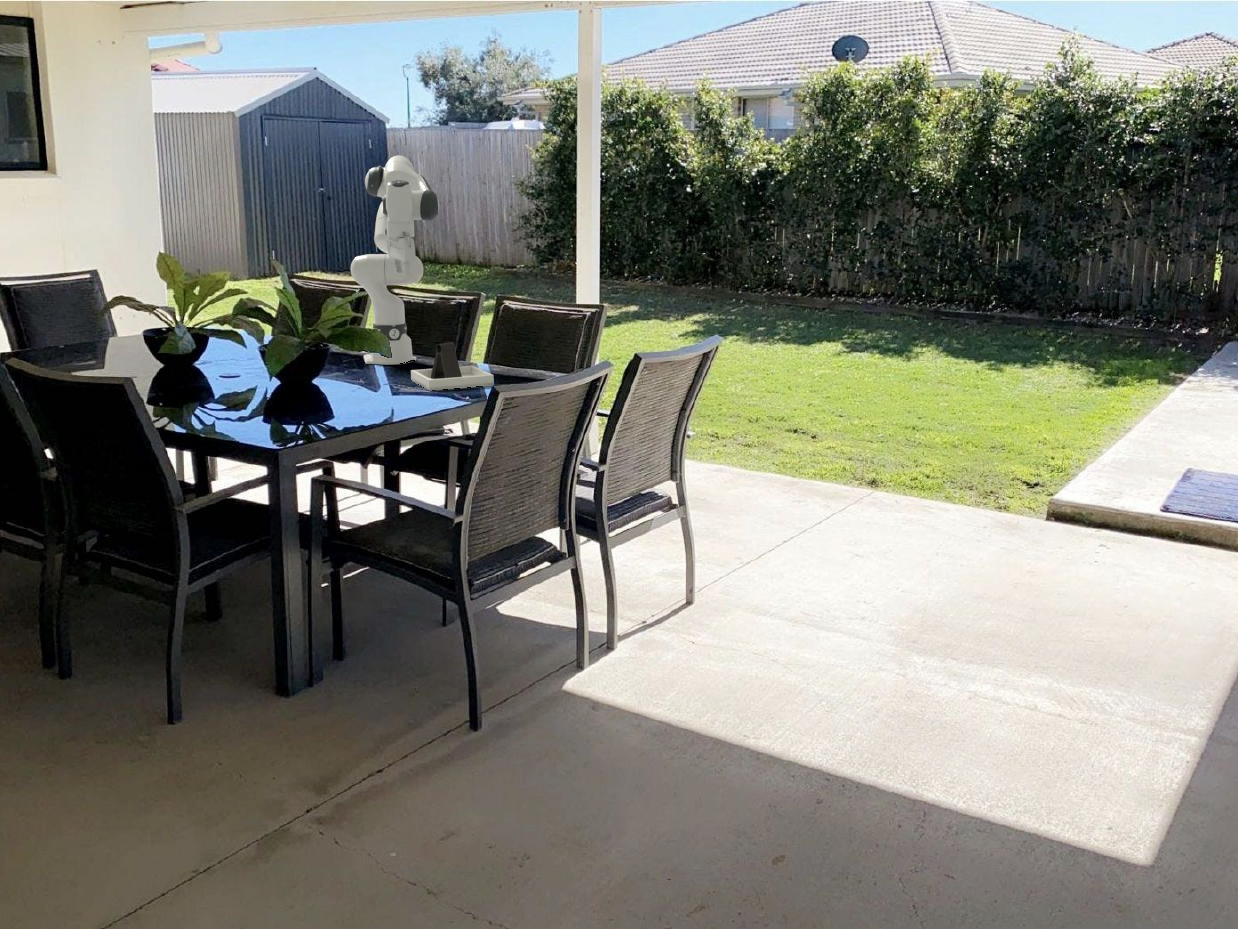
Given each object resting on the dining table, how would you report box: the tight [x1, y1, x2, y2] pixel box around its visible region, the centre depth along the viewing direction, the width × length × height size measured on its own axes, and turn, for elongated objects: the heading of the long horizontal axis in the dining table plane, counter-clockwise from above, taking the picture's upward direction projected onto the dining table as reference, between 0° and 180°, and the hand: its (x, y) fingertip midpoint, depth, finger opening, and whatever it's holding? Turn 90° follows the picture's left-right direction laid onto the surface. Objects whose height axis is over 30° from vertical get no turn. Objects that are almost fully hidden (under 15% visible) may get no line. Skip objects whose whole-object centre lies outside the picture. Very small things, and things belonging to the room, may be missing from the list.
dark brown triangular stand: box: [431, 341, 462, 379], centre depth 385 cm, size 9×6×12 cm, turn 51°
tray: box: [410, 365, 495, 392], centre depth 384 cm, size 20×22×4 cm
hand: (402, 273), depth 384 cm, fingers open, 8 cm apart
